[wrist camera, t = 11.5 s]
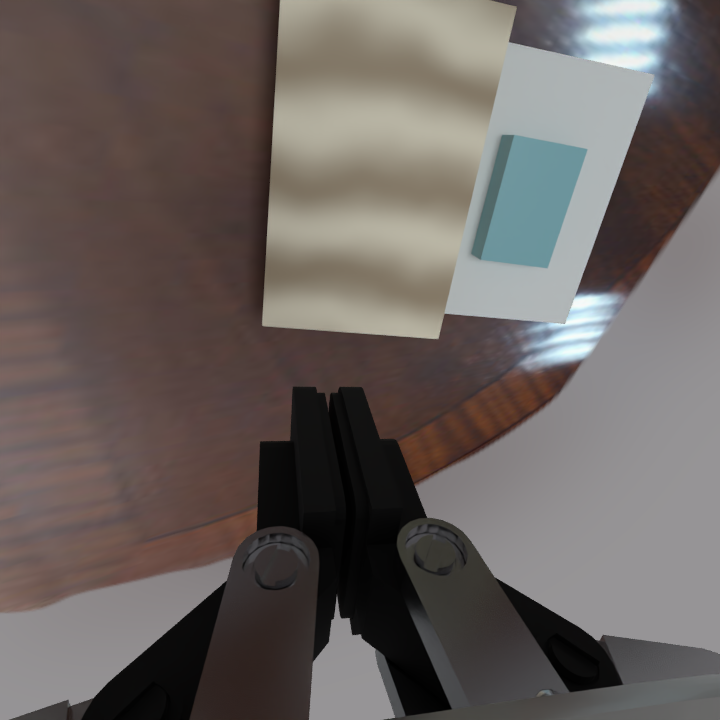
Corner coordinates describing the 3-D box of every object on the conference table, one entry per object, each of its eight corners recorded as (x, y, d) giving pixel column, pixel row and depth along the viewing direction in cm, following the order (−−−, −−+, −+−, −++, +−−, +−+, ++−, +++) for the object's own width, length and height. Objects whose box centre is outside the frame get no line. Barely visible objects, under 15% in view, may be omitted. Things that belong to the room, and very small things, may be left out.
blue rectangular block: (587, 149, 33) (572, 148, 35) (514, 134, 32) (502, 134, 34) (547, 268, 37) (535, 262, 39) (480, 259, 36) (471, 253, 38)
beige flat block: (282, -27, 28) (282, -50, 24) (489, 21, 31) (516, 6, 27) (263, 307, 37) (262, 326, 34) (424, 321, 40) (438, 339, 37)
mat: (492, 40, 31) (494, 39, 31) (650, 75, 34) (654, 74, 34) (432, 310, 40) (433, 312, 40) (562, 322, 42) (564, 323, 42)
